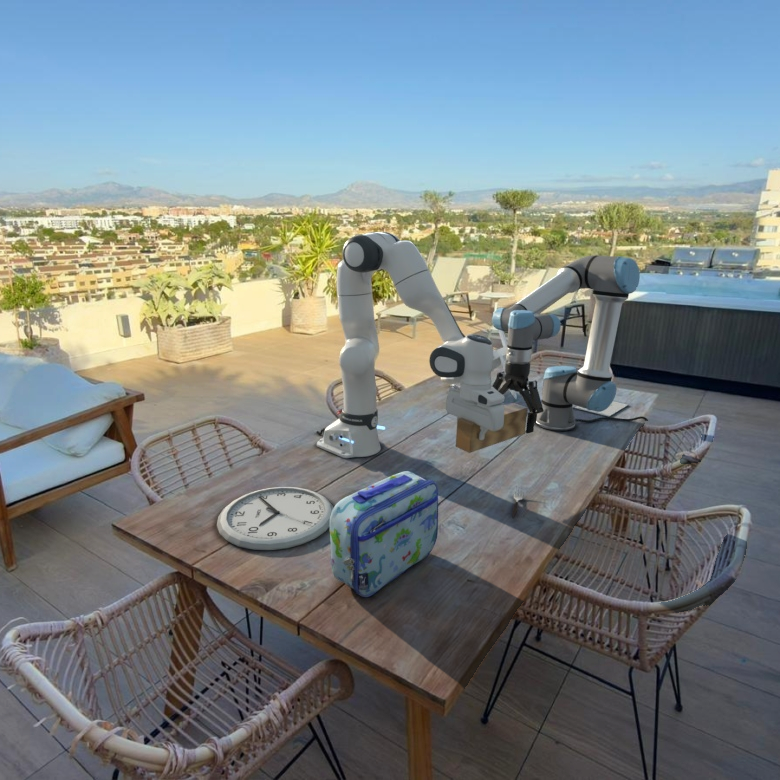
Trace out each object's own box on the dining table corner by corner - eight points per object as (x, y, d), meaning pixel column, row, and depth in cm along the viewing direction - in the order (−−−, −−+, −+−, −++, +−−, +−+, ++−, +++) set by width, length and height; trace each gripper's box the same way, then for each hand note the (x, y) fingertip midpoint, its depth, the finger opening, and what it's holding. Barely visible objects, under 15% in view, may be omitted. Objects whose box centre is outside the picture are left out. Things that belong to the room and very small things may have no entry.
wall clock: (333, 542, 123) (202, 546, 121) (333, 547, 124) (203, 552, 121) (335, 482, 152) (229, 485, 149) (335, 487, 152) (230, 490, 150)
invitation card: (608, 416, 214) (573, 407, 224) (608, 416, 214) (573, 408, 224) (628, 404, 229) (594, 396, 238) (628, 405, 229) (594, 397, 238)
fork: (507, 519, 137) (507, 512, 137) (515, 491, 152) (515, 485, 151) (517, 521, 136) (518, 514, 136) (524, 493, 151) (524, 487, 150)
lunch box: (357, 610, 104) (357, 517, 98) (324, 584, 111) (322, 496, 105) (442, 556, 121) (446, 474, 115) (408, 536, 129) (411, 459, 122)
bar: (510, 428, 172) (513, 402, 169) (524, 433, 168) (527, 407, 165) (455, 446, 157) (457, 418, 154) (469, 453, 153) (471, 424, 150)
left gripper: (442, 384, 157) (439, 427, 162) (494, 402, 142) (490, 449, 146) (457, 380, 161) (454, 422, 165) (509, 398, 146) (505, 443, 150)
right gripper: (479, 355, 168) (475, 417, 174) (544, 372, 149) (537, 440, 156) (495, 352, 172) (490, 412, 179) (560, 368, 154) (552, 435, 160)
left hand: (471, 435), depth 156 cm, fingers closed on bar, 6 cm apart
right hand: (512, 425), depth 167 cm, fingers open, 13 cm apart
